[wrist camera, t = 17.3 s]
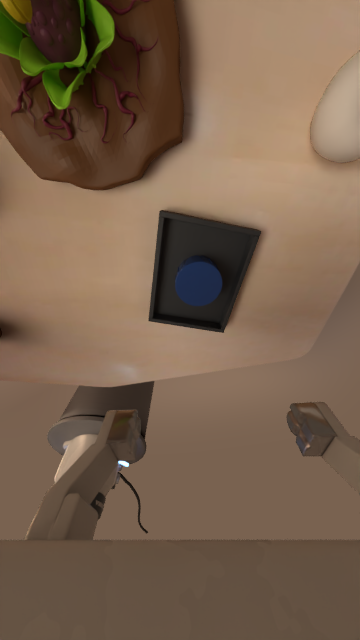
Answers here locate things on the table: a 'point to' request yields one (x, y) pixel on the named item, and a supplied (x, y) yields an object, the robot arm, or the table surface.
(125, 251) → the table surface
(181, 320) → the tray
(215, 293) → the jar lid
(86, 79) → the plant
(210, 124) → the table surface
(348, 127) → the apple
